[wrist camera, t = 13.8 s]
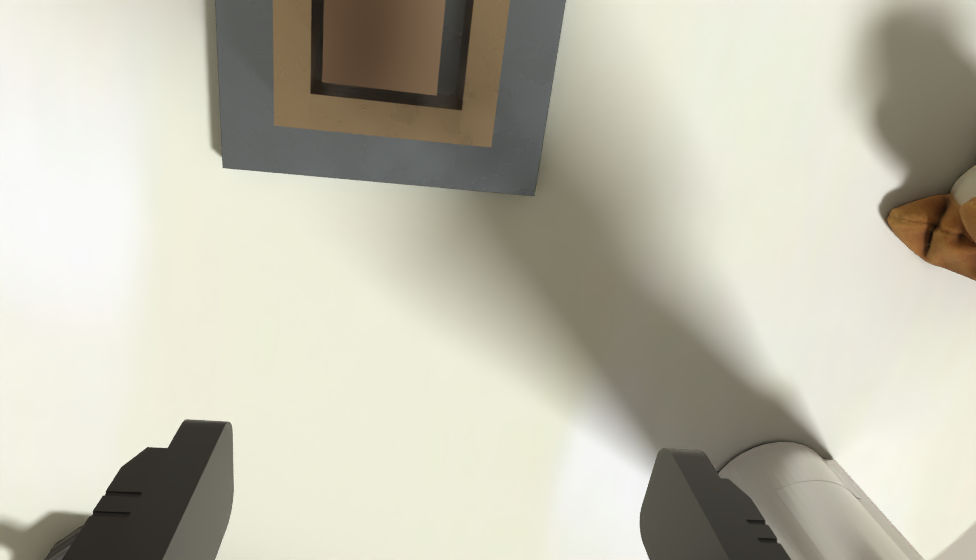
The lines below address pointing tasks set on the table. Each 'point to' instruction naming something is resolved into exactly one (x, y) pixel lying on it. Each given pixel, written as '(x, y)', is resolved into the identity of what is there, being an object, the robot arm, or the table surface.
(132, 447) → the table surface
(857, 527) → the robot arm
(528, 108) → the well stand
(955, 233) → the stuffed squirrel
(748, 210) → the table surface
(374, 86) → the walnut bar
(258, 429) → the table surface
